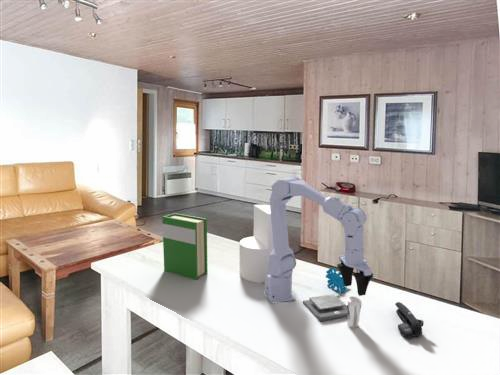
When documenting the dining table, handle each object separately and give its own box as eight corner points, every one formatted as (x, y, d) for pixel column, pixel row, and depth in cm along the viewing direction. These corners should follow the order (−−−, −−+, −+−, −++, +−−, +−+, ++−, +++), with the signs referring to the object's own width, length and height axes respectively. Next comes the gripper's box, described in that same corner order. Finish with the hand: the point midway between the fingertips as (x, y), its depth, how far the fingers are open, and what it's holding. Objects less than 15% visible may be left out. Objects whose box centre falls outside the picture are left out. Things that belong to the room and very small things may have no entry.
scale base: (320, 322, 114) (320, 316, 114) (302, 302, 127) (302, 298, 126) (355, 316, 118) (356, 311, 118) (335, 298, 130) (335, 293, 130)
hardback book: (207, 273, 151) (206, 218, 147) (196, 280, 145) (195, 222, 141) (176, 265, 160) (174, 213, 156) (164, 270, 154) (162, 216, 150)
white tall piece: (271, 263, 162) (272, 203, 158) (287, 279, 146) (288, 212, 141) (234, 268, 157) (234, 206, 152) (246, 284, 141) (247, 215, 136)
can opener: (427, 342, 104) (429, 325, 103) (402, 340, 105) (403, 323, 104) (408, 311, 121) (410, 296, 120) (387, 310, 122) (388, 295, 121)
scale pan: (320, 310, 118) (320, 308, 118) (309, 299, 125) (309, 297, 125) (345, 306, 120) (345, 304, 120) (333, 295, 128) (333, 294, 128)
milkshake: (340, 321, 114) (342, 292, 113) (356, 321, 115) (358, 292, 113) (345, 329, 110) (347, 299, 108) (362, 329, 110) (364, 298, 109)
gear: (336, 293, 131) (323, 268, 135) (325, 299, 134) (314, 275, 139) (354, 288, 138) (341, 265, 142) (343, 295, 141) (331, 272, 146)
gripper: (380, 252, 104) (380, 297, 106) (352, 240, 118) (352, 279, 120) (359, 255, 102) (359, 301, 104) (333, 243, 116) (333, 283, 118)
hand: (354, 290), depth 112 cm, fingers open, 7 cm apart
